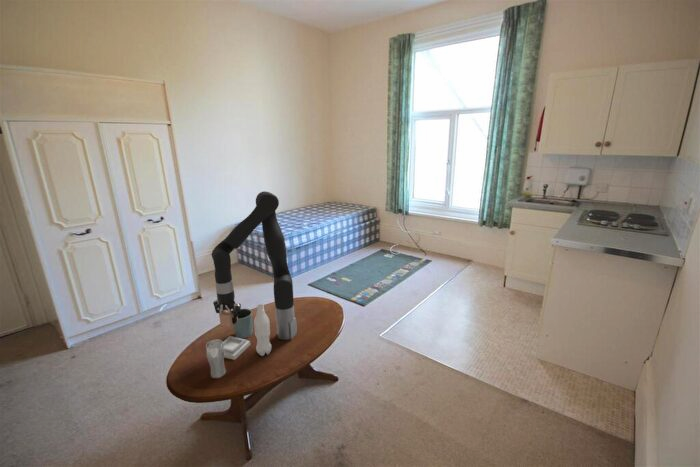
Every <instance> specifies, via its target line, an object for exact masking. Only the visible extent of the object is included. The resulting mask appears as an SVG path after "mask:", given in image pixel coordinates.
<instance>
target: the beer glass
mask: <svg viewBox="0 0 700 467" xmlns="http://www.w3.org/2000/svg"><path fill="white" fill-rule="evenodd" d="M223 342H224V341H222V339H217V338H216V339H213V340H212V339H211V340H210V341H207V343H206V344H205V349H206V350H205V351H206V353H205V354H206V359H207V361H208V364H209V366H210V377H211V378H212V379H220V378H222V377H223V376H224V375H225V374H226V373H227V370H226V367H225V357H224V346H223Z"/></svg>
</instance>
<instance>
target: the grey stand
mask: <svg viewBox="0 0 700 467" xmlns="http://www.w3.org/2000/svg"><path fill="white" fill-rule="evenodd" d="M222 342H223V346H224V359H229V360H234V361H235V360H236V359H237V358H239V356H241V354H242V353H244V351H246V350H247V349H248V348H249V347H250V346H251V341H250V340H247V339H246V338H238V337H236V336H232V335H229V336H227V338H226V339H225V340H224V341H222Z"/></svg>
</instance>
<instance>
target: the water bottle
mask: <svg viewBox="0 0 700 467" xmlns="http://www.w3.org/2000/svg"><path fill="white" fill-rule="evenodd" d="M253 329H254V335H255V337H256V340H257V342H256V346H255V351H256V353H257V354H258V355H259V356H261V357H264V356H265V354H266V355H270V353H271V351H272V344H271V342H270V334H271V326H270V318H269V316H268V315H267V314H266V312H265V307H264V304H263V303H262V304H261V303H260V304H257V305H256V315H255V317H254V319H253Z"/></svg>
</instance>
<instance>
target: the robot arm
mask: <svg viewBox="0 0 700 467" xmlns="http://www.w3.org/2000/svg"><path fill="white" fill-rule="evenodd" d="M279 204H280V200H279V198H278V197H277V196H276V195H275V194H274V193H272V192H271V191H270V192H269V191H265V190H264V191H261V192H259V193H258V194H257V195H256V197H255V208H254V209H253V210H252V211H251V213H249V215H247V217H246V218H244V219H243V220H241V222H239V223H238V224H237V225H236V226H235V227H234V228H233V229H232V230H231V231H230V232H229V234H228V235H227V236H226V237H225V238H224V239H223V240H221V241H220V242H219V243H218V244H217V245H216V246H215V247H214V248H213V250H212V252H211V258H212V261H213V265H214V278H215V291H216V300H214V301H213V302H212V303H213V306H214V309H215V310H214V311H215V314H218V315H219V314H220V313H221V312H223V311H224V310H227V311H228V312H229V313H230V314H231V316H232V323H233V324H235V323H236V322H237V316H238V315H240V310H241V309H242V308H241V306H242V305H241V303H236V301H235V297H236V296H235V289H234V288H235V287H234V282H233V276H232V270H231V269H232V265H231V264H232V261H231V259H232V258H231V253H232V252H233V251H234V250H237V249H238V248H240V247H241V245H242V244H244V242H245V241H246V240H247V239H248V238H249V237H250V235H251V234H252V233H253V232H254V231H255V230H256V229H257V227H259V225H260V224H261V226H262V234H263V239H264V240H263V241H264V246H265V250H266V253H267V254H266V255H267V256H268V258H269V261H270V263H271V265H272V272H273V296H274V298H273V299H274V300H273V301H274V306H275V307H274V308H275V309H274V310H275V319H276V334H277V338H278V339H280V340H282V341H286V340H287V341H288V340H293V338H294V337H295V336H297V333H298V331H297V330H298V327H297V317H295V306H294V305H295V304H294V302H295V301H294V286H293V279H292V276H291V273H290V269H289V265H288V259H287V257H288V255H287V247H286V246H287V245H286V241H285V237H284V234H283V231H282V228H281V226H280V224H279V221H278V218H277V213H276V211H277V209H278V208H279ZM231 309H232V310H231ZM233 312H234V314H233Z"/></svg>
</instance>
